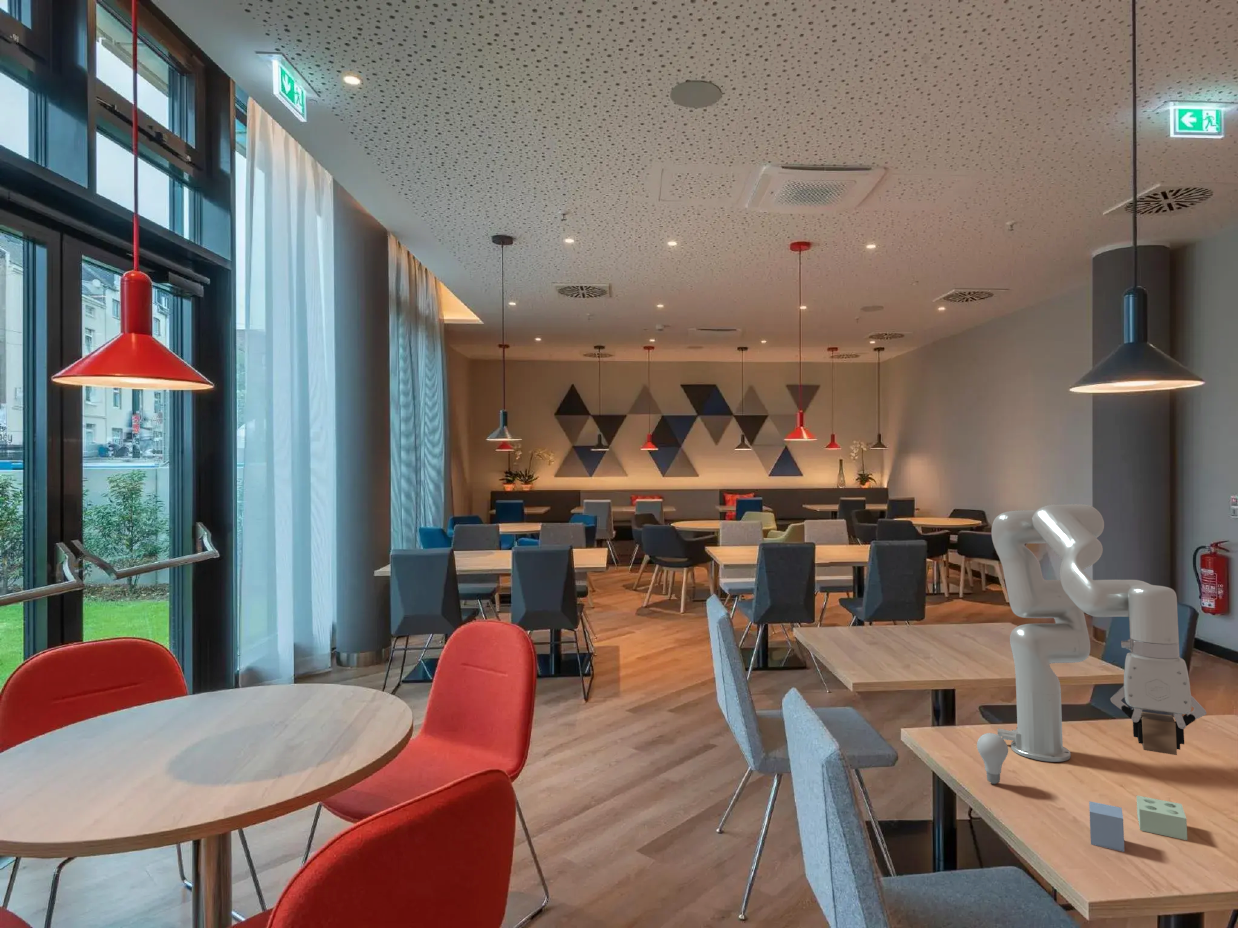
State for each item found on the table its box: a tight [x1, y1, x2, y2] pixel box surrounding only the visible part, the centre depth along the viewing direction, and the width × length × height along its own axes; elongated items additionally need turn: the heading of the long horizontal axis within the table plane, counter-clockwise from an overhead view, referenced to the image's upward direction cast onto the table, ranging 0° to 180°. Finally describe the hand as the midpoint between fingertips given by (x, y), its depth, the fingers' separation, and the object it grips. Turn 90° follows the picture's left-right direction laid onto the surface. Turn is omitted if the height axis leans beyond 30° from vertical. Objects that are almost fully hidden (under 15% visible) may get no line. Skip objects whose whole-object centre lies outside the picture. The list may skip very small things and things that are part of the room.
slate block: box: [1088, 800, 1125, 853], centre depth 127 cm, size 5×5×6 cm
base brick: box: [1136, 795, 1188, 841], centre depth 132 cm, size 7×7×4 cm
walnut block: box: [1140, 711, 1178, 756], centre depth 133 cm, size 5×5×6 cm
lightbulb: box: [976, 732, 1009, 785], centre depth 152 cm, size 6×6×11 cm
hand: (1158, 743), depth 133 cm, fingers closed on walnut block, 5 cm apart
